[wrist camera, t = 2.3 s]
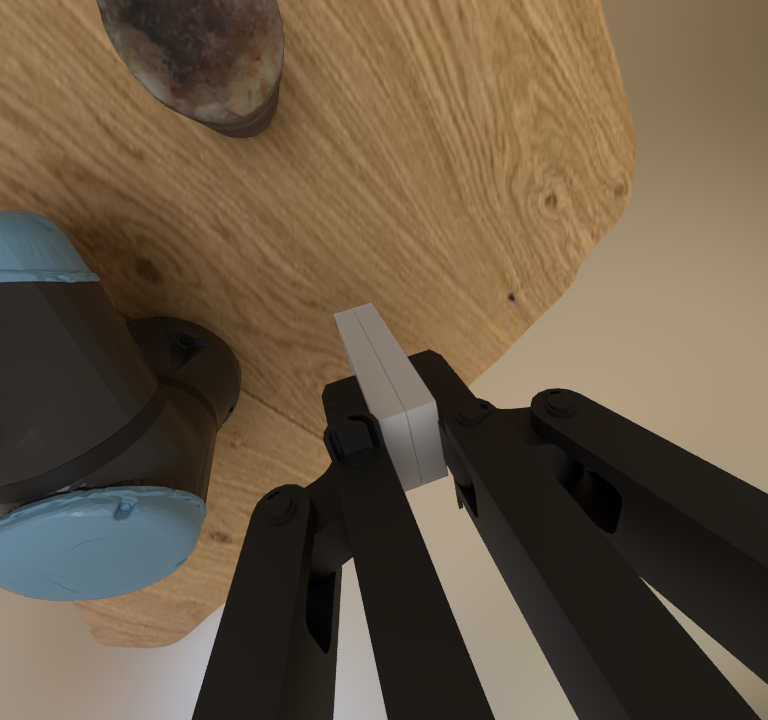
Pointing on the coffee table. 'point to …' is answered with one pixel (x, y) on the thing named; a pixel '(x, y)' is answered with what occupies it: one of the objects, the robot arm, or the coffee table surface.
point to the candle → (203, 57)
